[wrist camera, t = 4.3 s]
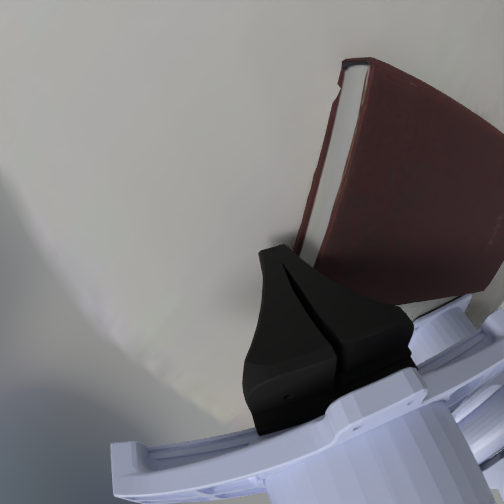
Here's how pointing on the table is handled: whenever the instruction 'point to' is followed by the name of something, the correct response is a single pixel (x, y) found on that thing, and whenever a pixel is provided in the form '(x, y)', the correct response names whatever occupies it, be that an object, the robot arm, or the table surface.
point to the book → (404, 191)
